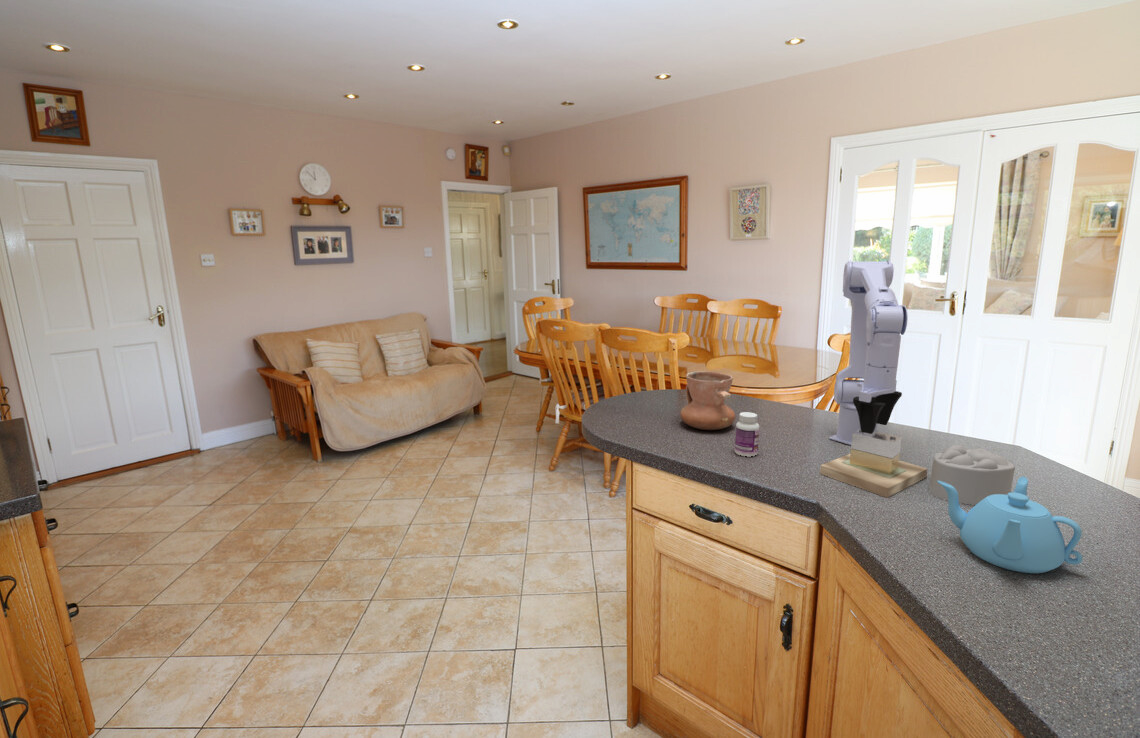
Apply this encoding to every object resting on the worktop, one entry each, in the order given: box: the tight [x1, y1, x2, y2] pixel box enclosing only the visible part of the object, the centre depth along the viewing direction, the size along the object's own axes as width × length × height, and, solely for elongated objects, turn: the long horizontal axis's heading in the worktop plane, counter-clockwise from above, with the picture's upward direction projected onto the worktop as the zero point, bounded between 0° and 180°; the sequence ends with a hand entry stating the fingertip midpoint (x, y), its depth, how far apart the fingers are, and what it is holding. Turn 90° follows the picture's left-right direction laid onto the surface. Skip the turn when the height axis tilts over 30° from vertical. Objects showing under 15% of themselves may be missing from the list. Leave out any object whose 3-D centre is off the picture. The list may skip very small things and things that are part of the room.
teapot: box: [937, 476, 1084, 574], centre depth 85 cm, size 15×15×10 cm
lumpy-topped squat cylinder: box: [928, 444, 1016, 506], centre depth 106 cm, size 10×13×9 cm
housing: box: [849, 428, 903, 475], centre depth 115 cm, size 8×4×7 cm, turn 43°
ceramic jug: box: [680, 370, 736, 431], centre depth 149 cm, size 18×14×14 cm
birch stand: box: [819, 452, 928, 499], centre depth 116 cm, size 16×14×2 cm
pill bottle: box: [734, 411, 760, 458], centre depth 129 cm, size 5×5×10 cm
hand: (874, 428), depth 115 cm, fingers open, 7 cm apart
